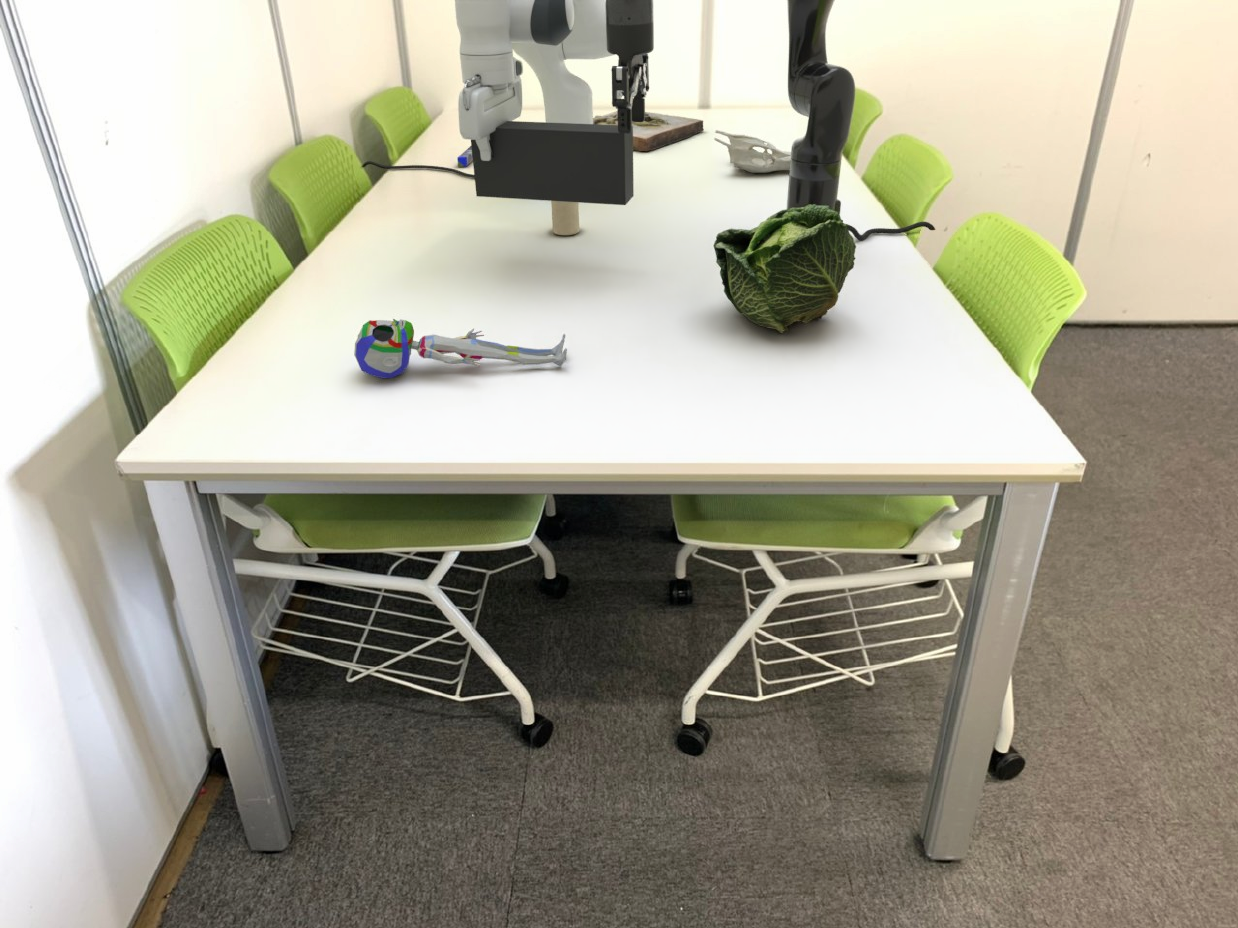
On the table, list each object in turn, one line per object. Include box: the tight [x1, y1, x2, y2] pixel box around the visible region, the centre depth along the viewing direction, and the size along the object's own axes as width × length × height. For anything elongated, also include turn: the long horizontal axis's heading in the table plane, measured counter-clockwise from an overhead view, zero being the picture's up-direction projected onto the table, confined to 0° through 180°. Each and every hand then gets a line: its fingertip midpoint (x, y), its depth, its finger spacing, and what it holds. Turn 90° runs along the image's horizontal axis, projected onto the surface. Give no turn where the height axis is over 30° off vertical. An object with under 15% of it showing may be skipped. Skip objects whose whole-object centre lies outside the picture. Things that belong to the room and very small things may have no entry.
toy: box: [353, 318, 568, 379], centre depth 130 cm, size 10×8×30 cm
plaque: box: [593, 110, 705, 152], centre depth 257 cm, size 30×7×30 cm
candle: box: [550, 201, 580, 236], centre depth 182 cm, size 6×6×10 cm
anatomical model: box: [714, 130, 791, 174], centre depth 222 cm, size 15×9×25 cm
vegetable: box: [713, 204, 857, 334], centre depth 140 cm, size 20×19×20 cm
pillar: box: [456, 145, 473, 168], centre depth 239 cm, size 2×2×20 cm
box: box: [470, 120, 634, 206], centre depth 157 cm, size 28×6×12 cm, turn 75°
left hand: (495, 155), depth 159 cm, fingers closed on box, 6 cm apart
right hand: (631, 127), depth 150 cm, fingers open, 8 cm apart
